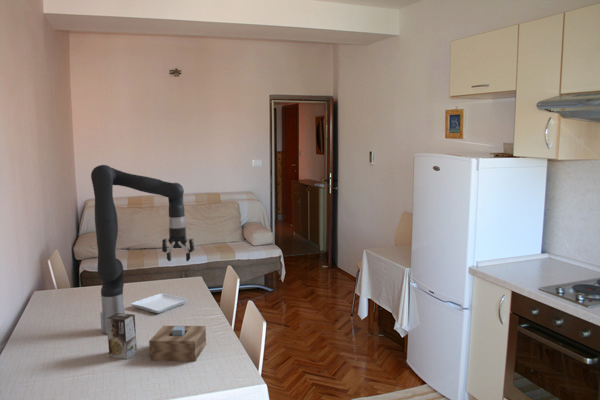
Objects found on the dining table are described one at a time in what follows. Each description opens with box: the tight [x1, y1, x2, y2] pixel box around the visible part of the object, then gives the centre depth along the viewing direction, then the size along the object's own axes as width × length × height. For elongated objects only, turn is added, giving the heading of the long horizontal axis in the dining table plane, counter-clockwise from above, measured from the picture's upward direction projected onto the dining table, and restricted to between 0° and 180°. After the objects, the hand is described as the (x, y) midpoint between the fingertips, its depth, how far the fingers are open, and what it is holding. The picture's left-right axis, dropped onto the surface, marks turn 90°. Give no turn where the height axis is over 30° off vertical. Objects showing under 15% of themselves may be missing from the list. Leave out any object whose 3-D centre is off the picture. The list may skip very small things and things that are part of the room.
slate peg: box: [172, 325, 186, 336], centre depth 196 cm, size 4×4×10 cm
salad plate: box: [130, 292, 189, 314], centre depth 254 cm, size 21×21×3 cm
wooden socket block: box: [148, 325, 207, 362], centre depth 196 cm, size 18×16×8 cm
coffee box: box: [106, 313, 138, 360], centre depth 194 cm, size 9×6×16 cm
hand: (178, 260), depth 226 cm, fingers open, 8 cm apart
